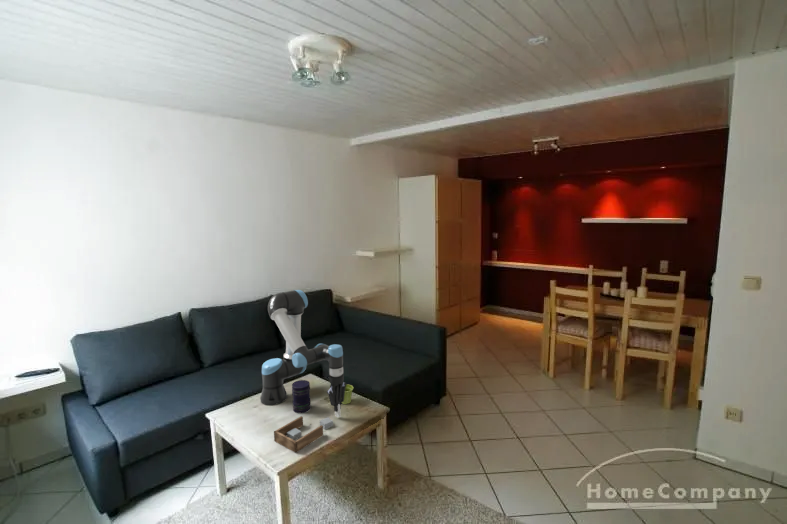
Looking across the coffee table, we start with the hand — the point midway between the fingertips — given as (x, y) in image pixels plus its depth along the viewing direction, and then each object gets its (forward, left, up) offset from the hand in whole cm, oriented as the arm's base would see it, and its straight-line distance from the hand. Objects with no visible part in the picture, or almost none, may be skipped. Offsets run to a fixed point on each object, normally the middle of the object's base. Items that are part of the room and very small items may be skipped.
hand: (337, 415), depth 200 cm
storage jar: (-24, -4, -2) cm, 24 cm away
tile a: (-6, -25, -2) cm, 25 cm away
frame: (-3, -23, -1) cm, 24 cm away
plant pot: (-9, +16, -2) cm, 18 cm away
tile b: (0, -8, -2) cm, 9 cm away
